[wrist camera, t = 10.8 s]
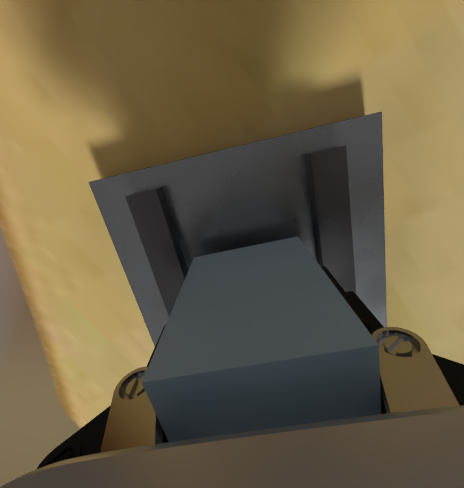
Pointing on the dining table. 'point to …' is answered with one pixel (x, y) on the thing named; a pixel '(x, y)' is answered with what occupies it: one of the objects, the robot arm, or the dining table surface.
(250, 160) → the mounting bracket
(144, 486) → the robot arm
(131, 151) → the dining table surface
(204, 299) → the slate grey block
